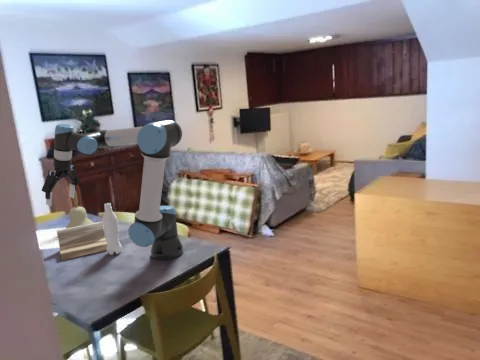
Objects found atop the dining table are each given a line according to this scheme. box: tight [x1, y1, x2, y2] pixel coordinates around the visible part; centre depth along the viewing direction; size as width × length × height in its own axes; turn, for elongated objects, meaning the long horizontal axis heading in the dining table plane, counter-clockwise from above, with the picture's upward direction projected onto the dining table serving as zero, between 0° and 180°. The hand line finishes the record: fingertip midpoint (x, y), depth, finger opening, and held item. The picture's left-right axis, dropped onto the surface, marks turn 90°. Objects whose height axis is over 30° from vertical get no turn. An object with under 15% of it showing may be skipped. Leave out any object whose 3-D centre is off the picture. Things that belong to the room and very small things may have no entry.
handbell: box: [65, 190, 94, 228], centre depth 238 cm, size 15×15×25 cm
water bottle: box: [101, 202, 123, 256], centre depth 197 cm, size 7×7×25 cm
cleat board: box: [56, 220, 107, 261], centre depth 205 cm, size 14×22×11 cm, turn 115°
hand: (60, 201), depth 193 cm, fingers open, 13 cm apart
